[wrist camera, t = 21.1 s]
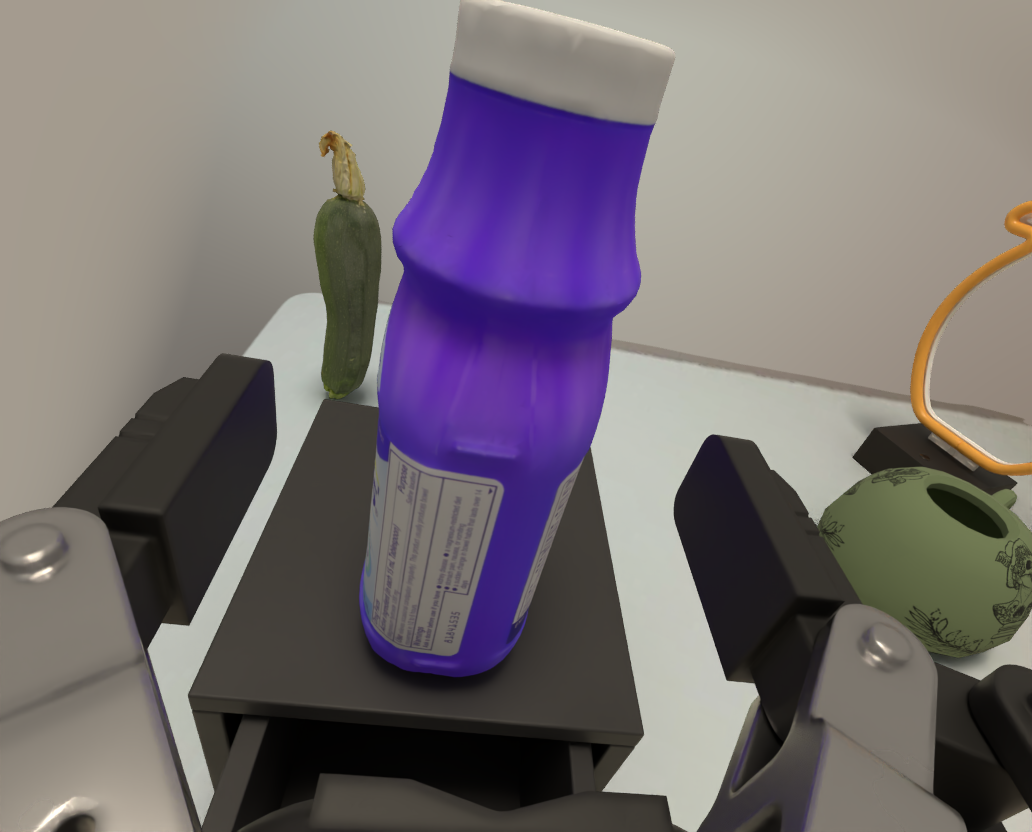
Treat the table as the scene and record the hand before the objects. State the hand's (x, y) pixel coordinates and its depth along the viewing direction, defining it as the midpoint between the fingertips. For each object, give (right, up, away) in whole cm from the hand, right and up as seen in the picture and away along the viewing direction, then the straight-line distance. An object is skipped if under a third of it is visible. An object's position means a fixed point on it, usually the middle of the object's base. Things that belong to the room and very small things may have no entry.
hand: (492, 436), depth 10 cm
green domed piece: (+29, -12, +32) cm, 45 cm away
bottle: (-2, -6, +10) cm, 12 cm away
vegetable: (-14, +1, +35) cm, 37 cm away
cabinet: (-4, -13, +19) cm, 23 cm away
